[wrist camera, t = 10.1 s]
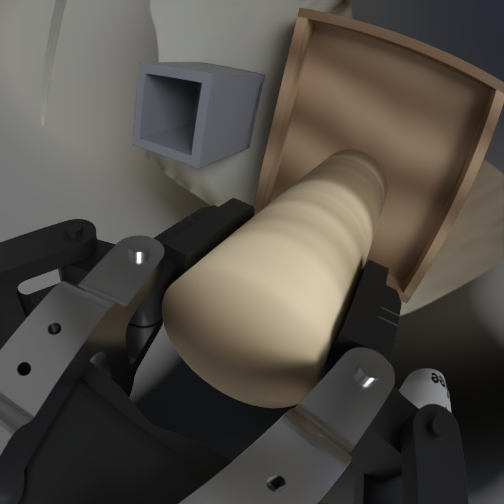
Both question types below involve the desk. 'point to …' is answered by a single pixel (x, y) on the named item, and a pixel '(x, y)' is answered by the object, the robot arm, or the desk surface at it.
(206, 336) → the dowel
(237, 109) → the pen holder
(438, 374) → the cup
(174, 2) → the desk surface
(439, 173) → the tray
